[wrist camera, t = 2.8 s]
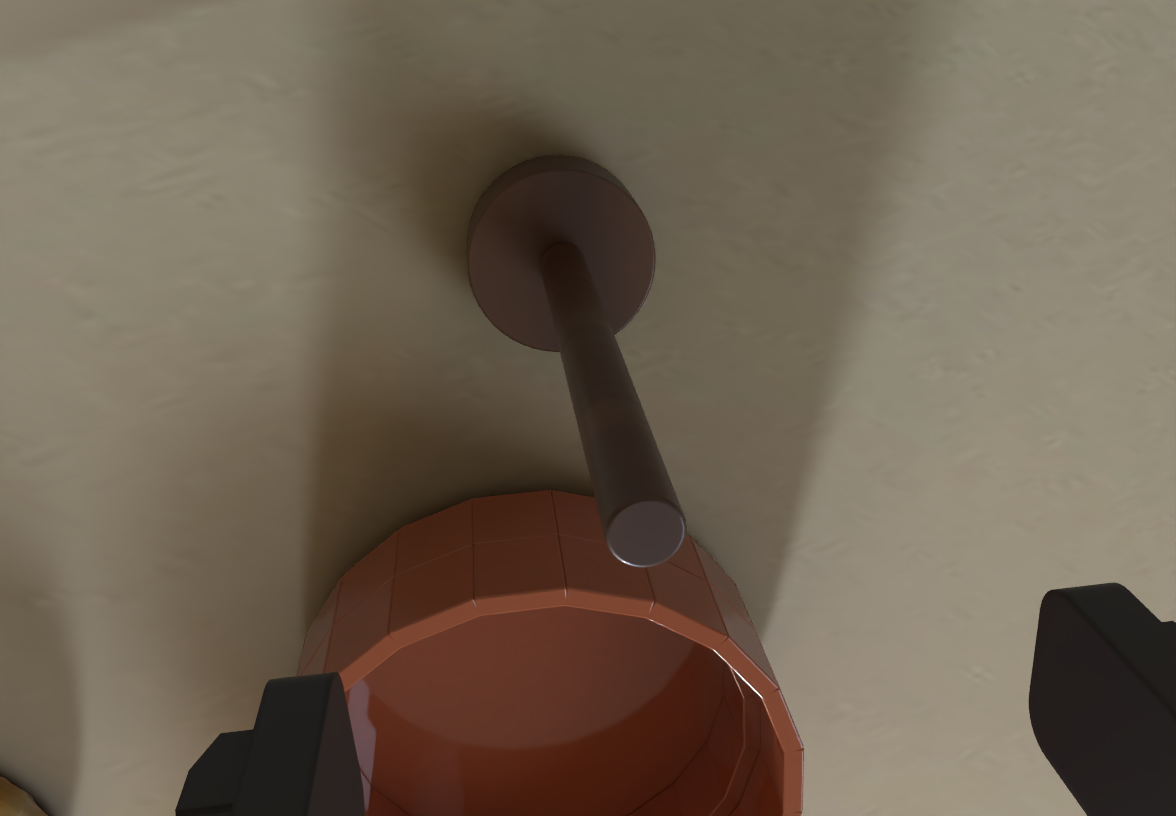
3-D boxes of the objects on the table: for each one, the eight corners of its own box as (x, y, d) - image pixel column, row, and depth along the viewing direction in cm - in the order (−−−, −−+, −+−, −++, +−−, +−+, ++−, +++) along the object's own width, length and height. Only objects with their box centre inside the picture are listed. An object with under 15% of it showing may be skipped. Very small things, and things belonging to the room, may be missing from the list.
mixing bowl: (341, 876, 38) (321, 1031, 33) (260, 511, 32) (219, 627, 27) (753, 821, 39) (799, 962, 34) (752, 457, 33) (809, 558, 28)
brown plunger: (477, 336, 31) (491, 694, 16) (456, 163, 29) (452, 392, 14) (648, 319, 31) (812, 654, 16) (640, 147, 29) (820, 354, 14)
